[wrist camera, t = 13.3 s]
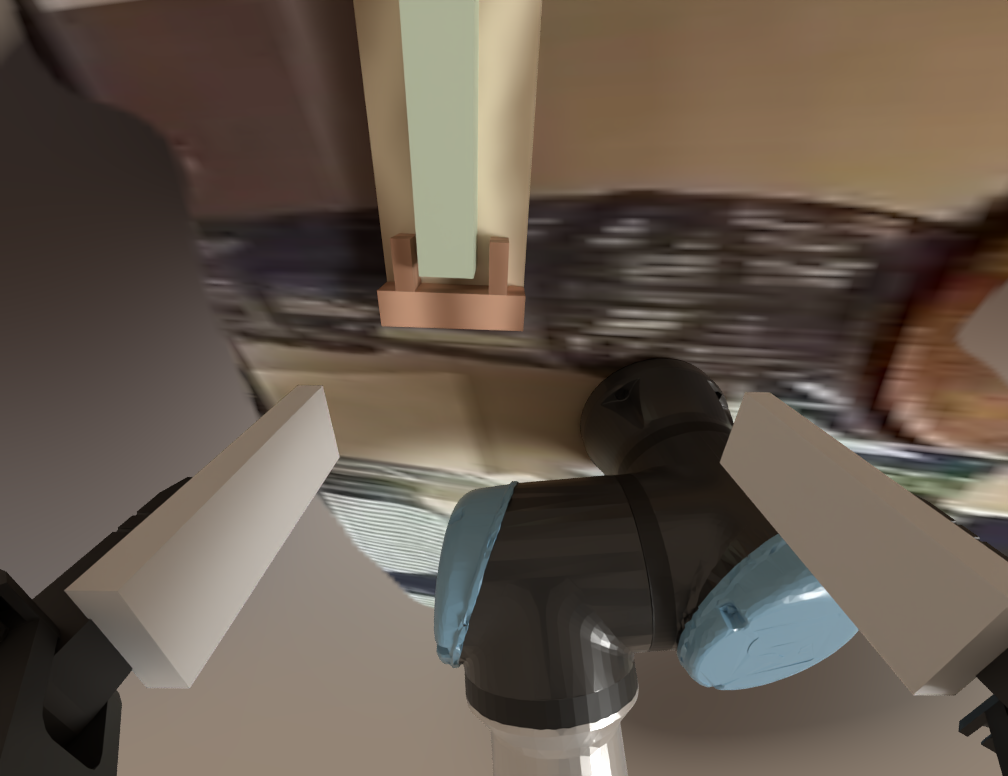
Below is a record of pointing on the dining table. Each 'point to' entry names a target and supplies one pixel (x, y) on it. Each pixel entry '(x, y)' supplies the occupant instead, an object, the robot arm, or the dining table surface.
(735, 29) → the dining table surface
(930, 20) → the dining table surface
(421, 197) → the slat
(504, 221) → the slat cradle
